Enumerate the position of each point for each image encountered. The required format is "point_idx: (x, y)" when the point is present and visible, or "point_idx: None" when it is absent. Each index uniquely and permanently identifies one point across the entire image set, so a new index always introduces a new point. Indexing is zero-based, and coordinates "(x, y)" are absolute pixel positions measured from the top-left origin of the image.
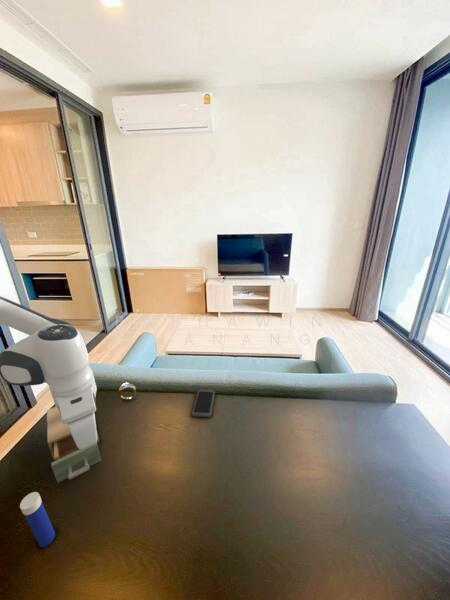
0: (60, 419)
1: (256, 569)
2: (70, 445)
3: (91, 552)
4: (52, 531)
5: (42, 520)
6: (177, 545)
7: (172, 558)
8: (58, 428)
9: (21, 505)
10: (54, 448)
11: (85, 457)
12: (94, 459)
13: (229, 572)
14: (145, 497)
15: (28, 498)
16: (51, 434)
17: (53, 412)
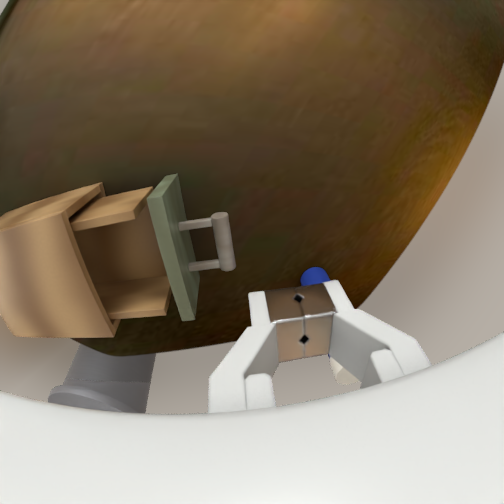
0: (38, 311)
1: (499, 20)
2: (99, 262)
3: (387, 204)
4: (324, 276)
5: None
6: (453, 72)
7: (461, 88)
8: (67, 315)
9: (354, 381)
10: (130, 317)
11: (178, 227)
12: (177, 196)
13: (494, 43)
14: (352, 78)
15: (348, 376)
16: (85, 329)
17: (18, 324)
